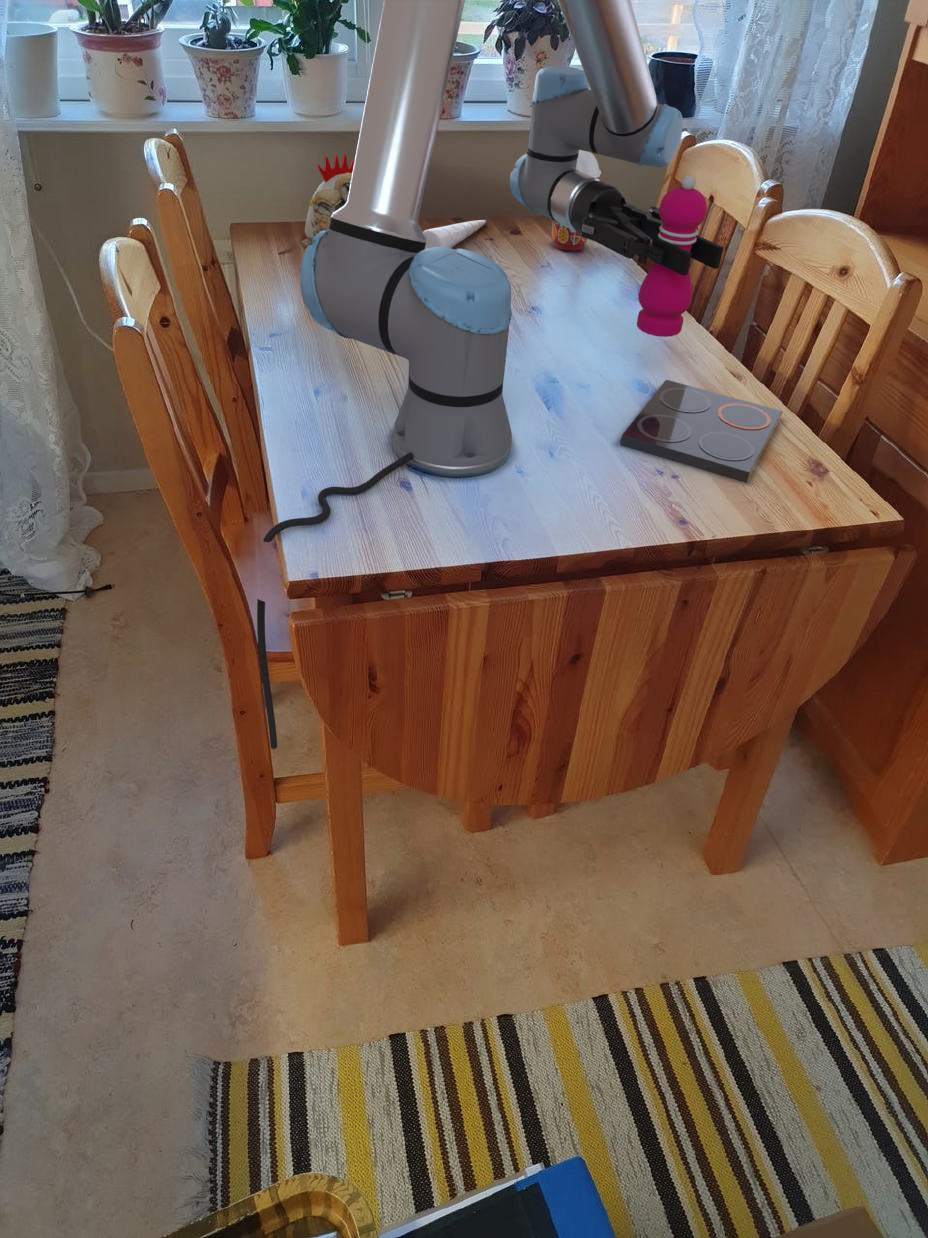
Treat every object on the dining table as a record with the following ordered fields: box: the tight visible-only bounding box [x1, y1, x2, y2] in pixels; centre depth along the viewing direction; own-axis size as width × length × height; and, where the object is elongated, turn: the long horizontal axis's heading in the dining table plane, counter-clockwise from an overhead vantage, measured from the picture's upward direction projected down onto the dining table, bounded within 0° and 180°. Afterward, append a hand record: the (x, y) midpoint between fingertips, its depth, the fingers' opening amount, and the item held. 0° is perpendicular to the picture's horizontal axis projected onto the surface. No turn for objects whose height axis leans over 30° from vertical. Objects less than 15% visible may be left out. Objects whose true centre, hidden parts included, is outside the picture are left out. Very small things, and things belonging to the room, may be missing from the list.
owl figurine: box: [300, 172, 352, 250], centre depth 153 cm, size 18×12×17 cm, turn 115°
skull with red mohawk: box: [304, 153, 355, 239], centre depth 168 cm, size 14×14×15 cm
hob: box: [619, 379, 783, 483], centre depth 125 cm, size 19×17×2 cm
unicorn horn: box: [422, 219, 487, 249], centre depth 175 cm, size 5×24×5 cm, turn 149°
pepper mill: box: [636, 174, 708, 338], centre depth 123 cm, size 7×7×20 cm
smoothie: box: [551, 150, 602, 252], centre depth 172 cm, size 8×8×20 cm
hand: (703, 261), depth 119 cm, fingers closed on pepper mill, 5 cm apart
